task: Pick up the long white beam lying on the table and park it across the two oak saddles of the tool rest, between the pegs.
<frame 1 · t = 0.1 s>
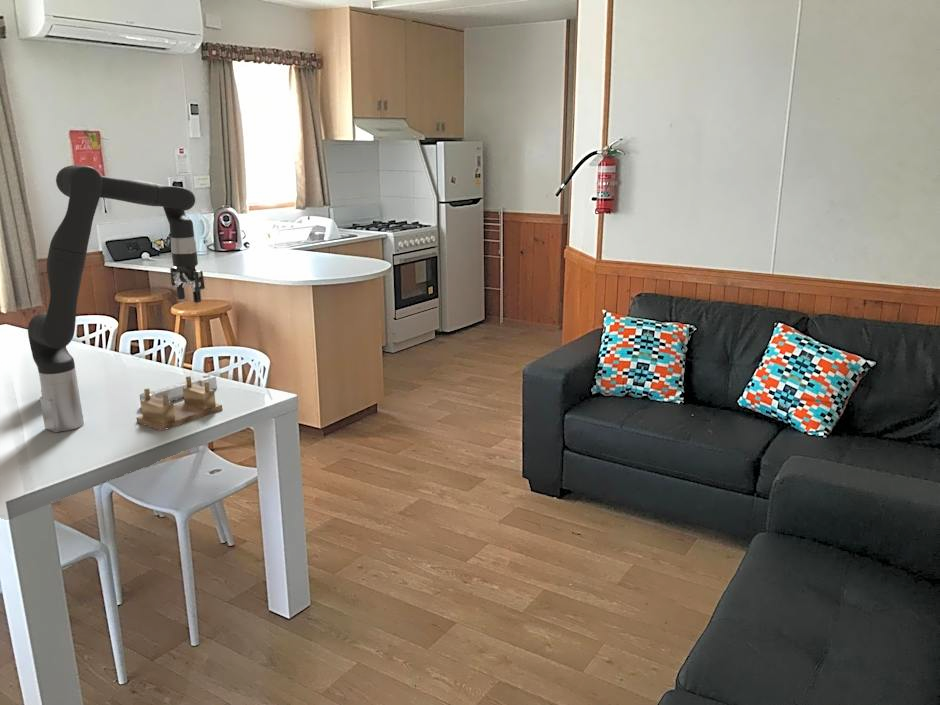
hand: (189, 300, 245), 29 cm above the table, tool pointing down, fingers open, 8 cm apart
cassette tape recorder: (58, 396, 243), on the table
long white beam: (177, 397, 241), on the table
tool rest: (180, 415, 226), on the table
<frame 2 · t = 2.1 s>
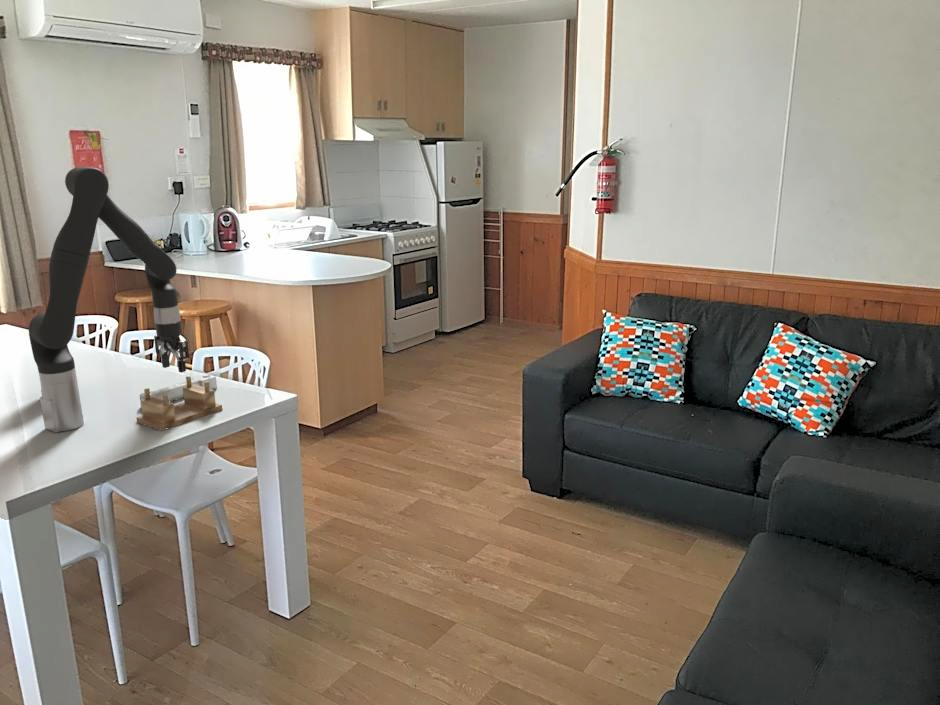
hand: (174, 369, 239), 9 cm above the table, tool pointing down, fingers open, 8 cm apart
nothing on the table moved.
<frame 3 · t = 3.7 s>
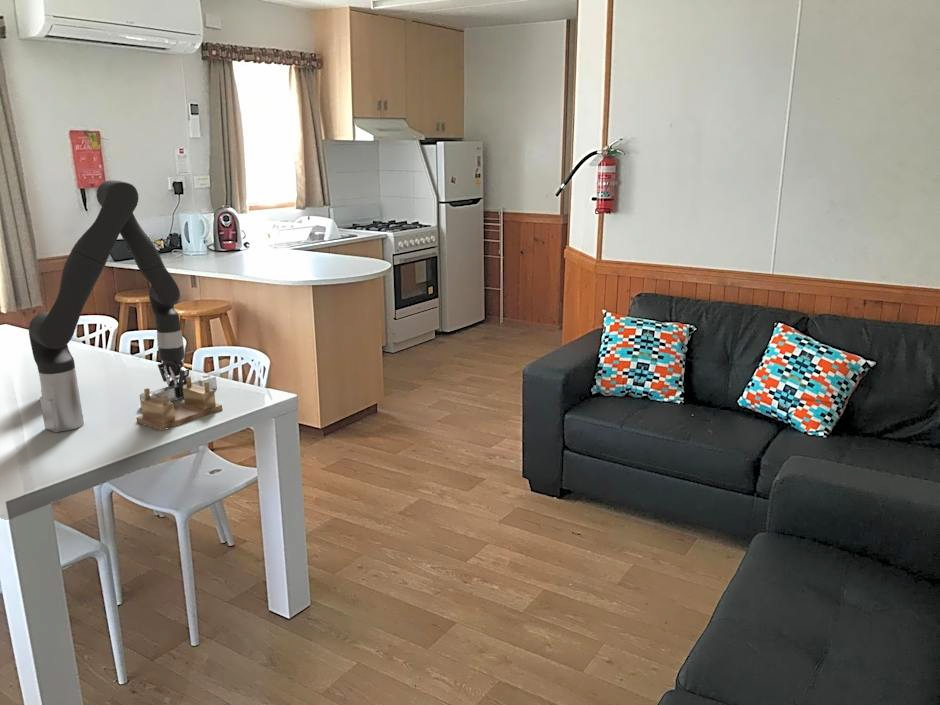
hand: (176, 395, 241), 1 cm above the table, tool pointing down, fingers closed on long white beam, 3 cm apart
long white beam: (176, 397, 241), on the table, touching gripper
everything else where it was.
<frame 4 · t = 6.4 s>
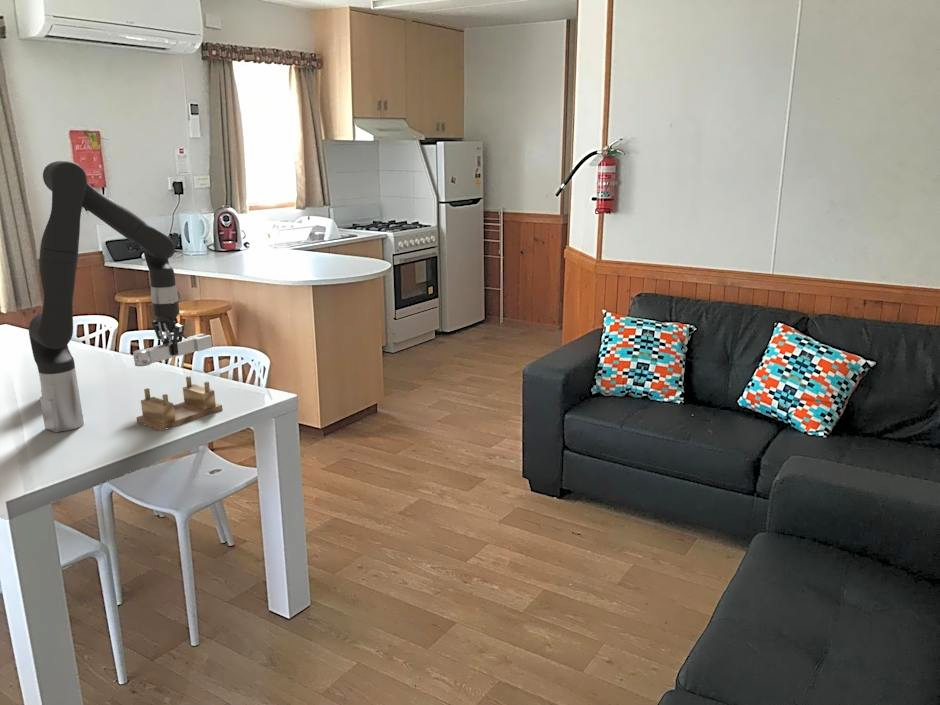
hand: (171, 353, 236), 15 cm above the table, tool pointing down, fingers closed on long white beam, 3 cm apart
long white beam: (171, 356, 237), point 14 cm above the table, touching gripper
everything else where it was.
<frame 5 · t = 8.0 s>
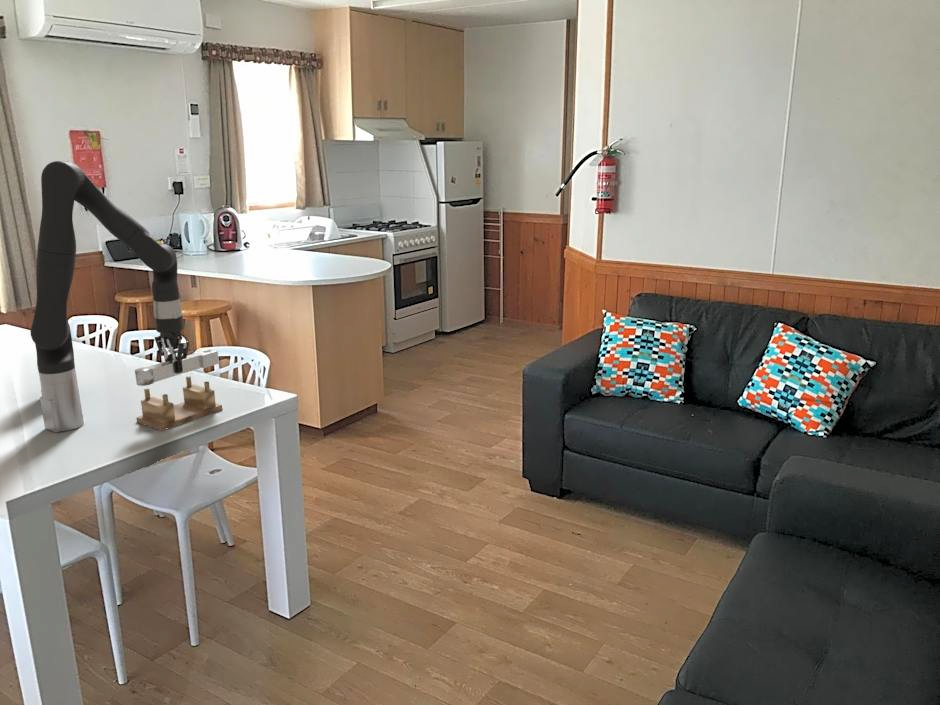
hand: (175, 371, 222), 14 cm above the table, tool pointing down, fingers closed on long white beam, 3 cm apart
long white beam: (175, 373, 222), point 13 cm above the table, touching gripper
everything else where it was.
when the fingers open (9 cm above the table, at t = 9.1 s): long white beam drops 1 cm, resting on tool rest.
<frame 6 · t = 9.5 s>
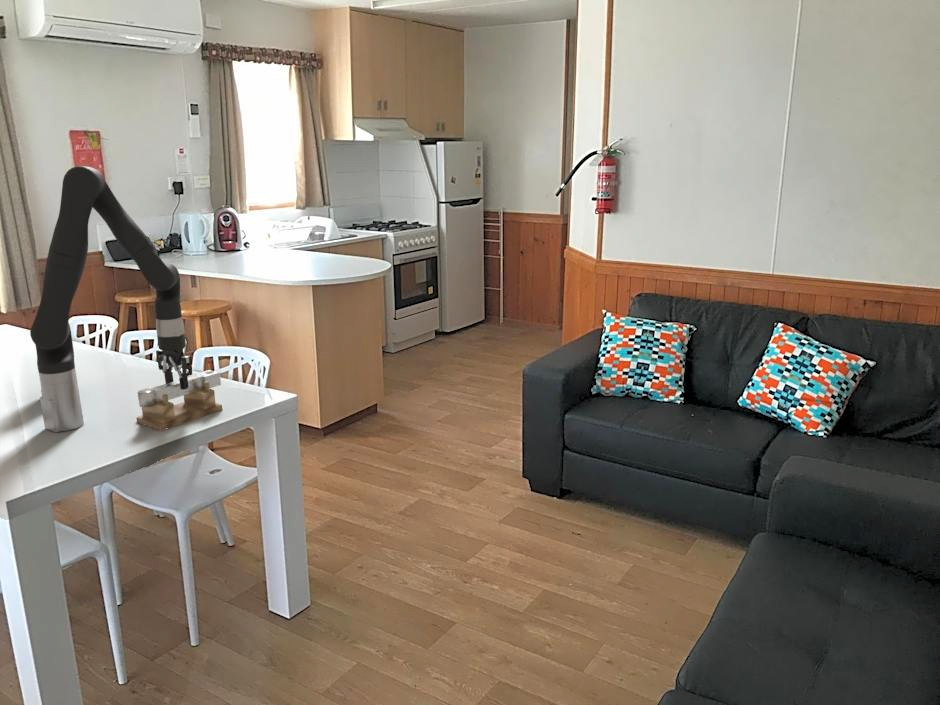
hand: (177, 386, 223), 9 cm above the table, tool pointing down, fingers open, 6 cm apart
long white beam: (178, 395, 224), point 6 cm above the table, touching tool rest
everything else where it was.
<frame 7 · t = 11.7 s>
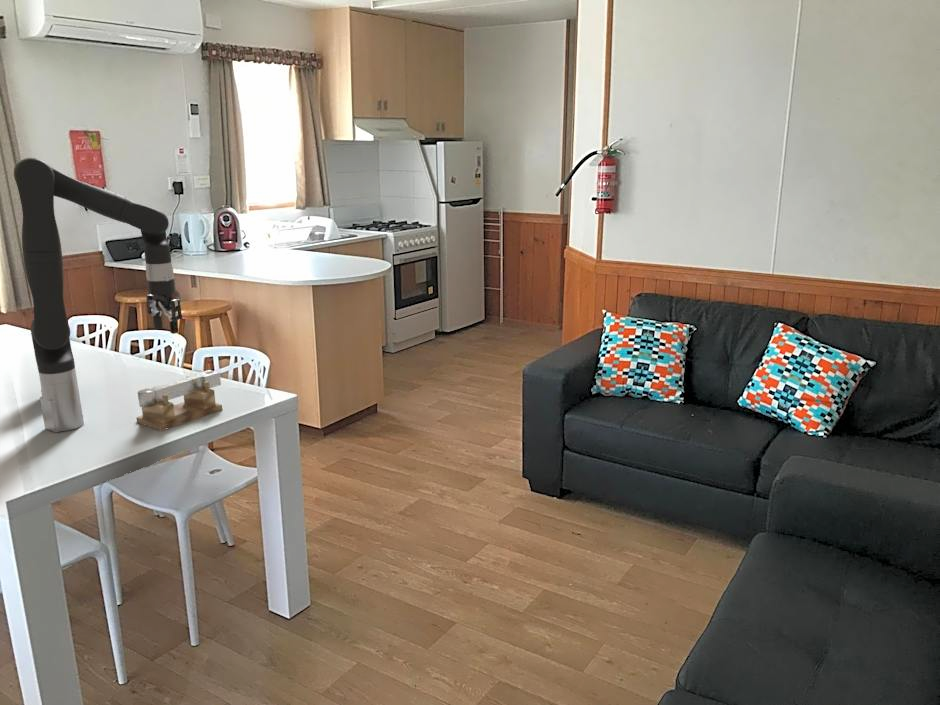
hand: (166, 330, 226), 24 cm above the table, tool pointing down, fingers open, 8 cm apart
nothing on the table moved.
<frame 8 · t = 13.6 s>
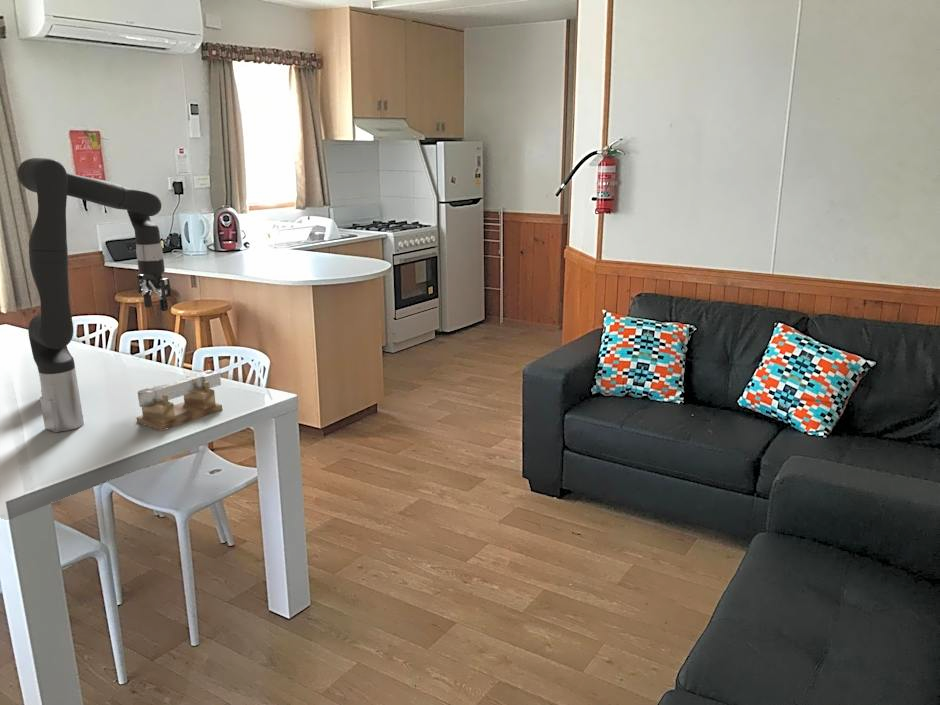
hand: (156, 308, 238), 28 cm above the table, tool pointing down, fingers open, 8 cm apart
nothing on the table moved.
at the end: long white beam 0.1 cm off-centre on the tool rest, point 6.5 cm above the tool rest's base; long white beam tilted 0°; the gripper is holding nothing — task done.
